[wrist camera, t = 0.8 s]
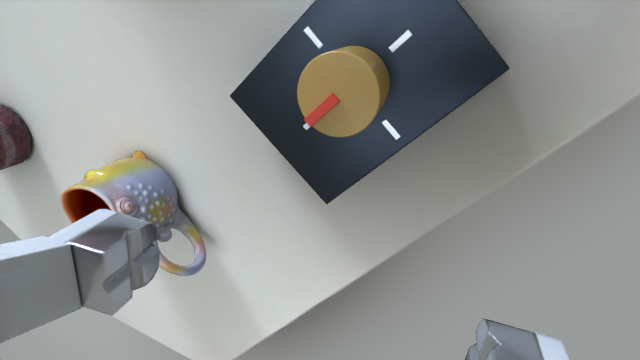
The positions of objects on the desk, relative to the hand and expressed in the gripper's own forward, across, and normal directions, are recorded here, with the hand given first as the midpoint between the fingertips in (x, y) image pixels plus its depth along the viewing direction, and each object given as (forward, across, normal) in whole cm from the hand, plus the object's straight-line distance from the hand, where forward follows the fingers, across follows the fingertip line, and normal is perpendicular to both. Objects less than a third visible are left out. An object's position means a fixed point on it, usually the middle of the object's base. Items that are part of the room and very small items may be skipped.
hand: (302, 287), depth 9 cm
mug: (+19, +18, +12) cm, 29 cm away
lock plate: (+19, +2, -2) cm, 19 cm away
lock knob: (+16, +2, -2) cm, 16 cm away
